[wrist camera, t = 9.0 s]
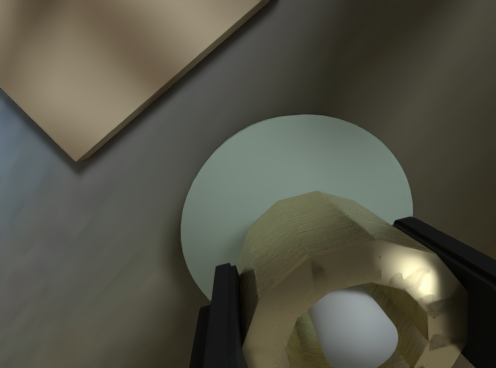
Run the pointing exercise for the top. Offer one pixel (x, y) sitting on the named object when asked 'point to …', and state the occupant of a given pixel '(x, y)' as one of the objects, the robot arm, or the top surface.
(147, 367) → the top surface
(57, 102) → the oak stand
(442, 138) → the top surface
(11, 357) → the top surface
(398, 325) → the brass ring
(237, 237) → the sage hub
